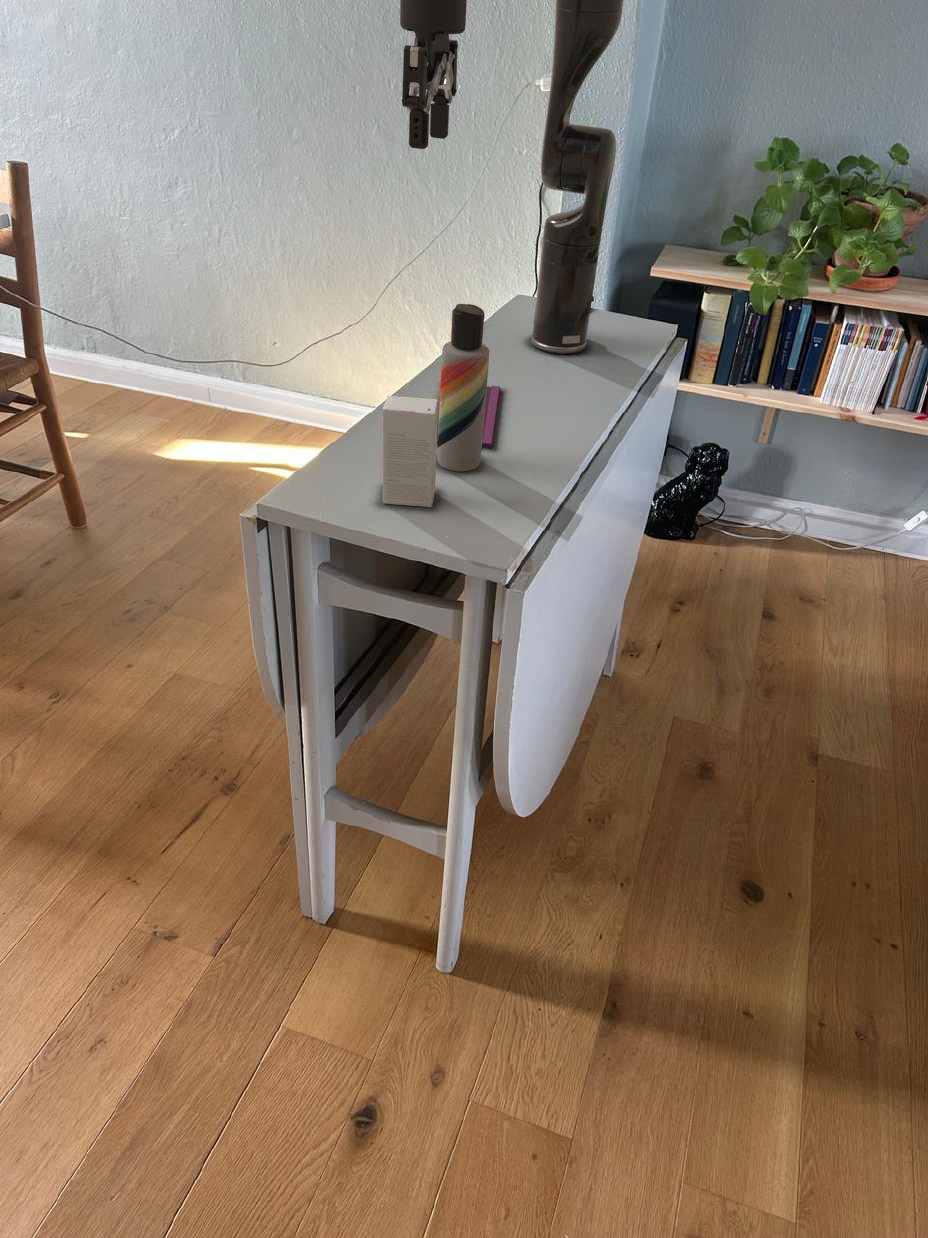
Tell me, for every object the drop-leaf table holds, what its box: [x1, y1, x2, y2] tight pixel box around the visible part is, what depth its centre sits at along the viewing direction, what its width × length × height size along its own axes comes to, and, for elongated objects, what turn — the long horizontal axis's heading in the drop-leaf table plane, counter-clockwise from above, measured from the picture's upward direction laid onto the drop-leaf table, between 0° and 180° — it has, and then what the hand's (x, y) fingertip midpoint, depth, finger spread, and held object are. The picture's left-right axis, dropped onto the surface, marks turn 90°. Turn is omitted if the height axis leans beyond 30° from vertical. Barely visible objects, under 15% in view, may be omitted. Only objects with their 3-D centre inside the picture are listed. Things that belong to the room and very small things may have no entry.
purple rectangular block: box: [437, 385, 502, 449], centre depth 127 cm, size 20×8×1 cm, turn 175°
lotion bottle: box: [436, 303, 490, 472], centre depth 110 cm, size 6×6×20 cm
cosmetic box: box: [381, 395, 439, 508], centre depth 104 cm, size 6×4×12 cm
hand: (429, 142), depth 110 cm, fingers open, 8 cm apart
